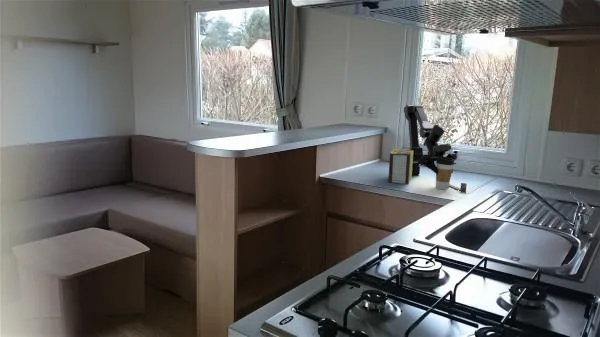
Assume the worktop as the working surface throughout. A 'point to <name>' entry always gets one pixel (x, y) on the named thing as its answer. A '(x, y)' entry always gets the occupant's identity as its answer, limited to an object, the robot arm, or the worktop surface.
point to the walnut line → (462, 189)
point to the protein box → (400, 166)
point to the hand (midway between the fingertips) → (444, 173)
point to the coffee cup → (444, 172)
